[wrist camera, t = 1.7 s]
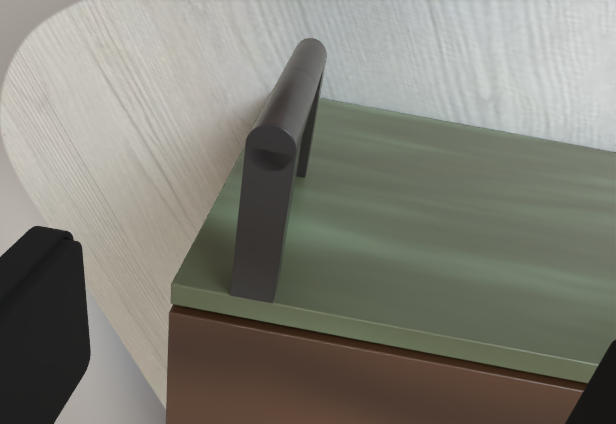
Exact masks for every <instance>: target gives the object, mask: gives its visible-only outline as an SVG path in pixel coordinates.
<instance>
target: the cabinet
mask: <svg viewBox="0 0 616 424" xmlns="http://www.w3.org/2000/svg"><path fill="white" fill-rule="evenodd" d="M587 384H588V383H583V382H578V381H572V380H567V379H562V378H557V377H552V376H546V375H541V374H536V373H531V372H525V371H520V370H515V369H510V368H504V367H499V366H494V365H489V364H483V363H478V362H473V361H468V360H462V359H457V358H452V357H447V356H442V355H436V354H431V353H426V352H421V351H415V350H410V349H405V348H400V347H394V346H389V345H384V344H379V343H373V342H368V341H363V340H358V339H352V338H347V337H342V336H337V335H331V334H326V333H321V332H316V331H311V330H305V329H300V328H295V327H290V326H284V325H279V324H274V323H269V322H263V321H258V320H253V319H248V318H242V317H237V316H232V315H227V314H221V313H216V312H211V311H206V310H200V309H195V308H190V307H185V306H180V305H174V304H173V306H172V308H171V310H170V312H169V336H168V370H167V404H166V424H565V423H566V421H567V419H568V417H569V416H570V414H571V412H572V410H573V409H574V407H575V405H576V403H577V402H578V400H579V398H580V396H581V395H582V393H583V391H584V389H585V388H586V386H587Z"/></svg>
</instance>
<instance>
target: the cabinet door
mask: <svg viewBox="0 0 616 424" xmlns="http://www.w3.org/2000/svg"><path fill="white" fill-rule="evenodd" d="M326 57H327V53H326V49H325V47H324V45H323V44H322V43H321V42H320V41H318V40H316V39H313V38H307V39H304V40H302V41H301V42H299V44H298V45H297V46H296V48H295V50H294V52H293V54H292V56H291V57H290V59H289V61H288V63H287V65H286V67H285V68H284V70H283V72H282V74H281V76H280V78H279V80H278V81H277V83H276V85H275V87H274V89H273V91H272V92H271V94H270V96H269V98H268V100H267V102H266V103H265V105H264V107H263V109H262V111H261V113H260V114H259V116H258V118H257V120H256V122H255V124H254V126H253V127H252V129H251V131H250V133H249V135H248V137H247V139H246V143H245V147H244V149H243V151H242V152H241V154H240V156H239V158H238V160H237V162H236V164H235V166H234V167H233V169H232V171H231V173H230V175H229V177H228V179H227V181H226V183H225V184H224V186H223V188H222V190H221V192H220V194H219V196H218V198H217V199H216V201H215V203H214V205H213V207H212V209H211V211H210V213H209V214H208V216H207V218H206V220H205V222H204V224H203V226H202V228H201V229H200V231H199V233H198V235H197V237H196V239H195V241H194V243H193V244H192V246H191V248H190V250H189V252H188V254H187V256H186V258H185V259H184V261H183V263H182V265H181V267H180V269H179V271H178V273H177V274H176V276H175V278H174V280H173V282H172V284H171V304H174V305H180V306H185V307H190V308H195V309H200V310H206V311H211V312H216V313H221V314H227V315H232V316H237V317H242V318H248V319H253V320H258V321H263V322H269V323H274V324H279V325H284V326H290V327H295V328H300V329H305V330H311V331H316V332H321V333H326V334H331V335H337V336H342V337H347V338H352V339H358V340H363V341H368V342H373V343H379V344H384V345H389V346H394V347H400V348H405V349H410V350H415V351H421V352H426V353H431V354H436V355H442V356H447V357H452V358H457V359H462V360H468V361H473V362H478V363H483V364H489V365H494V366H499V367H504V368H510V369H515V370H520V371H525V372H531V373H536V374H541V375H546V376H552V377H557V378H562V379H567V380H572V381H578V382H583V383H588V382H589V381H590V379H591V377H592V375H593V374H594V372H595V370H596V369H597V367H598V365H599V363H600V362H601V360H602V358H603V356H604V355H605V353H606V351H607V349H608V348H609V346H610V344H611V343H612V342H613V341H614V340H616V153H615V152H609V151H604V150H599V149H593V148H588V147H582V146H577V145H571V144H566V143H561V142H555V141H550V140H544V139H539V138H533V137H528V136H522V135H517V134H512V133H506V132H501V131H495V130H490V129H484V128H479V127H474V126H468V125H463V124H457V123H452V122H446V121H441V120H435V119H430V118H425V117H419V116H414V115H408V114H403V113H397V112H392V111H387V110H381V109H376V108H370V107H365V106H359V105H354V104H348V103H343V102H338V101H332V100H327V99H321V98H320V93H321V87H322V81H323V75H324V69H325V63H326Z"/></svg>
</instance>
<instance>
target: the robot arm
mask: <svg viewBox="0 0 616 424" xmlns="http://www.w3.org/2000/svg"><path fill="white" fill-rule="evenodd" d="M89 361H90V339H89V326H88V315H87V303H86V290H85V278H84V265H83V253H82V246H81V244H80V242H78V241H74V240H73V236H72V234H71V233H70V232H68V231H64V230H58V229H53V228H47V227H41V226H35V227H32V228H31V229H30V230H28V231H27V232H26V233H25V234H24V235H23V236H22V237H21V238H20V239H19V240H18V241H17V242H16V243H15V244H14V245H13V246H12V247H10V248H9V249H8V250H7V251H6V252H5V253H4V254H3V255H2V256H1V257H0V424H54V422H55V421H56V419H57V417H58V416H59V414H60V413H61V411H62V409H63V408H64V405H65V404H66V403H67V401H68V400H69V398H70V396H71V395H72V393H73V391H74V390H75V388H76V387H77V385H78V383H79V382H80V380H81V379H82V377H83V375H84V374H85V372H86V370H87V367H88V364H89ZM565 424H616V340H614V341H613V342H612V343H611V344H610V346H609V348H608V349H607V351H606V353H605V355H604V356H603V358H602V360H601V362H600V363H599V365H598V367H597V369H596V370H595V372H594V374H593V375H592V377H591V379H590V381H589V382H588V384H587V386H586V388H585V389H584V391H583V393H582V395H581V396H580V398H579V400H578V402H577V403H576V405H575V407H574V409H573V410H572V412H571V414H570V416H569V417H568V419H567V421H566V423H565Z"/></svg>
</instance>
